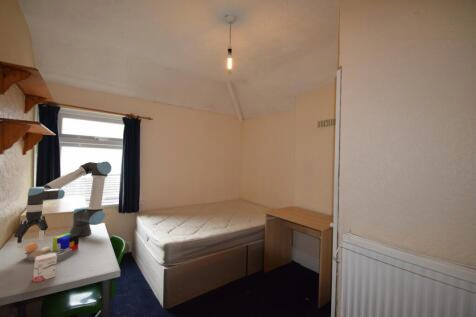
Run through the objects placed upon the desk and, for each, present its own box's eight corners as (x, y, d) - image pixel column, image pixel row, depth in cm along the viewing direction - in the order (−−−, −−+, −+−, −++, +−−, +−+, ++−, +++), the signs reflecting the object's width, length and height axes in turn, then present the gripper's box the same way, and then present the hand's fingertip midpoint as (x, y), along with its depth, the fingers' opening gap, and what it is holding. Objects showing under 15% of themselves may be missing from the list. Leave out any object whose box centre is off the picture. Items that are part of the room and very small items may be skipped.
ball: (31, 250, 137) (31, 241, 137) (40, 250, 137) (40, 241, 137) (21, 254, 131) (22, 244, 131) (31, 254, 131) (32, 244, 131)
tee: (30, 255, 136) (31, 250, 136) (36, 255, 136) (37, 250, 136) (24, 257, 132) (25, 253, 132) (30, 258, 132) (31, 253, 132)
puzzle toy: (63, 254, 139) (64, 239, 139) (52, 252, 141) (53, 237, 141) (78, 248, 149) (79, 234, 149) (66, 247, 151) (67, 233, 151)
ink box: (33, 283, 106) (35, 259, 106) (32, 279, 109) (34, 256, 109) (55, 276, 112) (57, 254, 113) (54, 273, 116) (55, 252, 116)
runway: (42, 255, 139) (43, 246, 139) (71, 256, 139) (72, 247, 139) (27, 262, 129) (28, 252, 129) (59, 263, 129) (59, 253, 129)
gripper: (46, 207, 147) (43, 237, 146) (7, 214, 122) (3, 251, 121) (56, 207, 147) (53, 237, 146) (20, 215, 122) (16, 251, 121)
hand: (31, 243), depth 133 cm, fingers open, 13 cm apart
